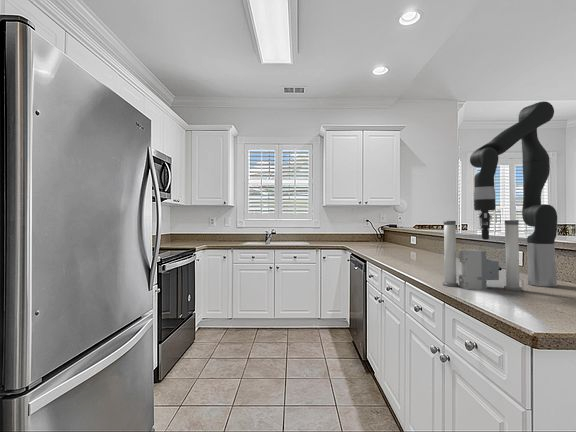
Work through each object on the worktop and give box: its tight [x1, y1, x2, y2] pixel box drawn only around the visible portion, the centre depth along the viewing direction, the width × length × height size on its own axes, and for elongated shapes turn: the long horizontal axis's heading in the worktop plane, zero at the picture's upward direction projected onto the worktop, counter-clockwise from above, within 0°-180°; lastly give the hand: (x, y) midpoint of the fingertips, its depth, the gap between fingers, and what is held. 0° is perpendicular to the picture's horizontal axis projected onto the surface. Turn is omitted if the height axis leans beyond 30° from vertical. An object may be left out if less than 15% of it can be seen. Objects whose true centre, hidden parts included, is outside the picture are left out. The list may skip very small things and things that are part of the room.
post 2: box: [503, 219, 523, 292], centre depth 135 cm, size 6×6×27 cm
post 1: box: [442, 220, 460, 288], centre depth 146 cm, size 6×6×27 cm
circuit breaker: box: [457, 249, 503, 290], centre depth 140 cm, size 8×14×15 cm, turn 78°
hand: (485, 238), depth 140 cm, fingers open, 8 cm apart
